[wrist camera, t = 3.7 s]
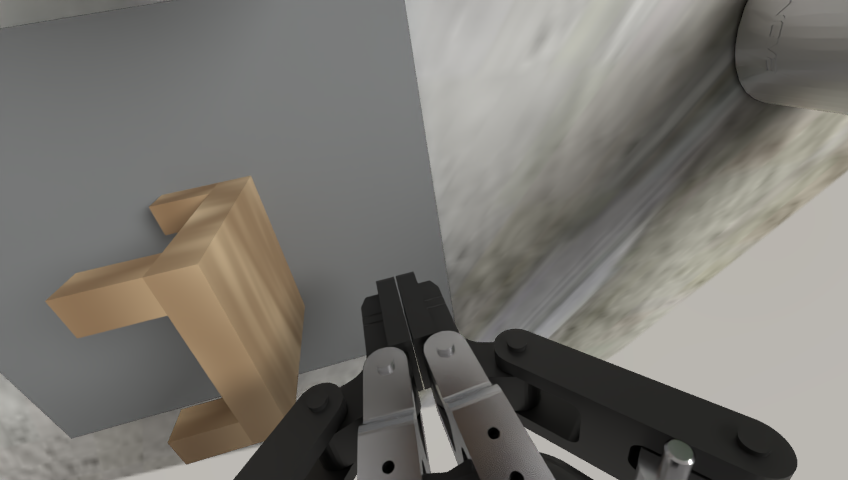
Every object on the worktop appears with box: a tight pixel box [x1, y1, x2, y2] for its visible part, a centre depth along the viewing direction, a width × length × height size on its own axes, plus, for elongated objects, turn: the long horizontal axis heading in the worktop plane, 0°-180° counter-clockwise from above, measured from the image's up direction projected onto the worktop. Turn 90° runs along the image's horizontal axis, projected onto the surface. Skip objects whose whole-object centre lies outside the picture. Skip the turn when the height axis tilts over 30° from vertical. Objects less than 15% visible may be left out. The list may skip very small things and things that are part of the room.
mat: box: [0, 0, 455, 439], centre depth 19 cm, size 24×20×1 cm
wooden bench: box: [45, 176, 305, 464], centre depth 16 cm, size 4×8×8 cm, turn 9°
